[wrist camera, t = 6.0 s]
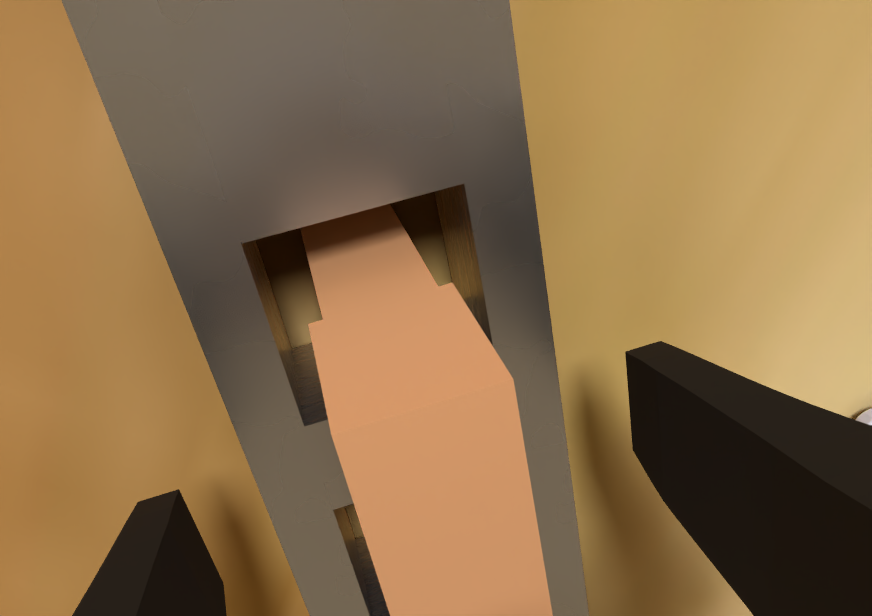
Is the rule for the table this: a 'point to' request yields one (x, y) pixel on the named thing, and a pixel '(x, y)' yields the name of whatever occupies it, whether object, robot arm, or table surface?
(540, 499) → the rail
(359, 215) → the clip
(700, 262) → the table surface
